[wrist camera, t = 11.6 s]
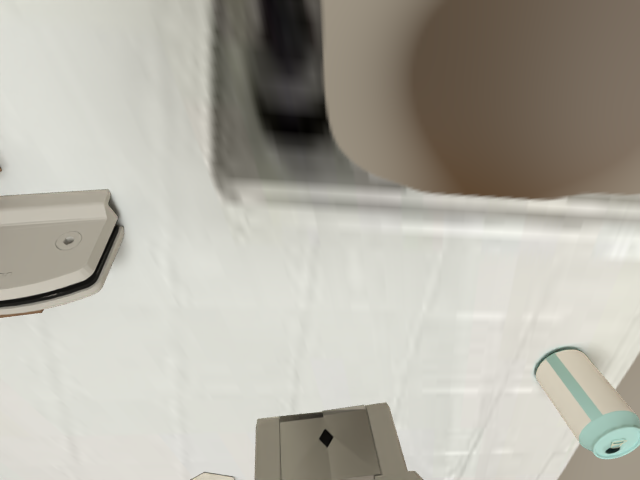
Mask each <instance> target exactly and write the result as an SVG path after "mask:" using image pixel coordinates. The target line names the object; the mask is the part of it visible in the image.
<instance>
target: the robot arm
mask: <svg viewBox="0 0 640 480" xmlns="http://www.w3.org/2000/svg"><path fill="white" fill-rule="evenodd" d="M255 480H423V479H422V478H421V477H420V476H419V475H418V474H417V473H416V472H415V471H408V470H407V467H406V463H405V460H404V456H403V453H402V449H401V446H400V442H399V439H398V436H397V432H396V429H395V425H394V422H393V418H392V415H391V411H390V408H389V406H388V404H387V403H386V402H385V403H378V404H371V405H365V406H364V405H359V406H352V407H345V408H339V409H332V410H325V411H322V412H315V413H306V414H296V415H287V416H277V417H269V418H261V419H257V424H256V446H255Z"/></svg>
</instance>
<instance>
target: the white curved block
mask: <svg viewBox="0 0 640 480" xmlns="http://www.w3.org/2000/svg"><path fill="white" fill-rule="evenodd" d="M110 195H111V193H110V191H109V189H105V190H89V191H73V192H57V193H41V194H25V195H9V196H0V315H5V314H16V313H25V312H31V311H37V310H42V309H47V308H52V307H56V306H60V305H64V304H67V303H70V302H74V301H77V300H80V299H83V298H85V297H88V296H91V295H94V294H96V293H97V292H99V291H100V290H101V289H102V287H103V285H104V283H105V280H106V278H107V275H108V273H109V271H110V268H111V266H112V263H113V261H114V259H115V256H116V254H117V251H118V249H119V246H120V244H121V242H122V239H123V237H124V229H123V227H118V226H115V224H116V221H117V219H118V216H117V215H116V214H115V213H114V211H113V210H112V209H111V208H110V207H109V205H108V202H109V199H110Z"/></svg>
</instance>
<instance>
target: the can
mask: <svg viewBox="0 0 640 480" xmlns="http://www.w3.org/2000/svg"><path fill="white" fill-rule="evenodd" d="M536 379H537V381H538V382H539V384H540V385H541V387H542V388H543V390H544V391H545V393H546V394H547V396H548V397H549V399H550V400H551V401H552V403H553V404H554V406H555V407H556V409H557V410H558V412H559V413H560V415H561V416H562V418H563V419H564V421H565V422H566V424H567V425H568V427H569V428H570V430H571V431H572V433H573V434H574V435H575V437H576V438H577V440H578V441H579V443H580V444H581V445H582V446H583V447H584V448H586V449H588V450H590V451H592V452H593V453H594V455H595V456H596V457H598V458H601V459H614V458H618V457H621V456H624V455H626V454H628V453H630V452H632V451H633V450H634V449H636V448H637V447H638V446H639V445H640V421H639V418H638V416H637V415H636V414H635V413H634V411H633V410H632V409H631V408H630V407H629V405H628V404H627V403H626V402H625V401H624V400H623V399H622V397H621V396H620V395H619V394H618V393H617V392H616V390H615V389H614V388H613V387H612V386H611V384H610V383H609V382H608V381H607V380H606V379H605V377H604V376H603V375H602V374H601V373H600V372H599V370H598V369H597V368H596V367H595V366H594V364H593V363H592V362H591V361H590V360H589V359H588V357H587V356H586V355H585V354H584V353H583V352H581V351H578V350H561V351H557V352H555V353H553V354H551V355H549V356H548V357H546V358H545V359H544V360H543V361H542V363H541V364H540V365H539V367H538V369H537V372H536Z"/></svg>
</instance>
